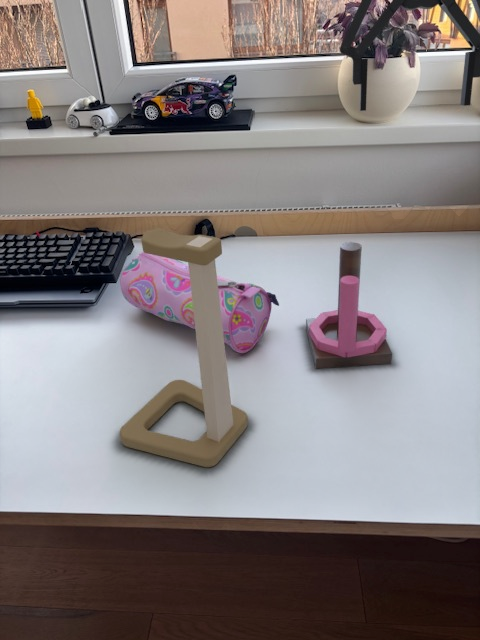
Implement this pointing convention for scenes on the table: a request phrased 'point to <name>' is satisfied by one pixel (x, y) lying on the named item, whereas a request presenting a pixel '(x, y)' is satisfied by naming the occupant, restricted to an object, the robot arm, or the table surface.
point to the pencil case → (176, 299)
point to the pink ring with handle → (348, 325)
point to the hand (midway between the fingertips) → (413, 107)
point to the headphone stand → (215, 393)
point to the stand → (383, 355)
